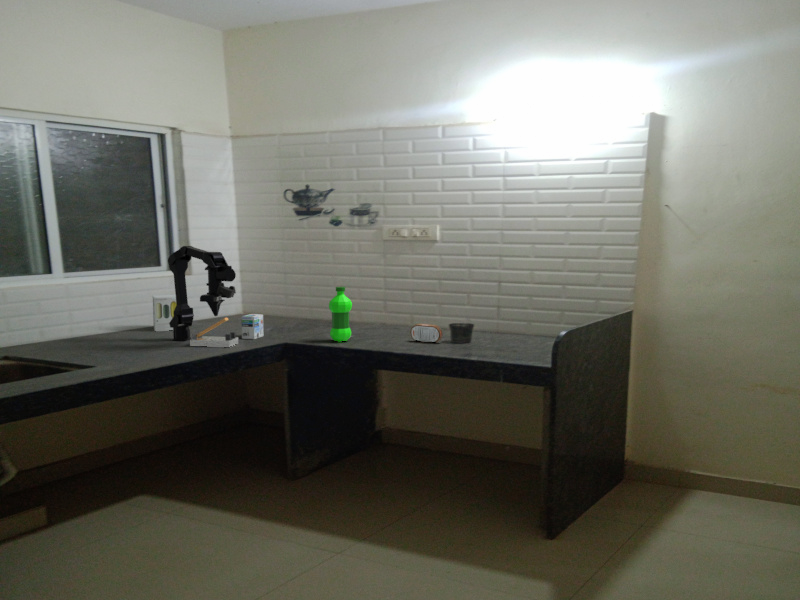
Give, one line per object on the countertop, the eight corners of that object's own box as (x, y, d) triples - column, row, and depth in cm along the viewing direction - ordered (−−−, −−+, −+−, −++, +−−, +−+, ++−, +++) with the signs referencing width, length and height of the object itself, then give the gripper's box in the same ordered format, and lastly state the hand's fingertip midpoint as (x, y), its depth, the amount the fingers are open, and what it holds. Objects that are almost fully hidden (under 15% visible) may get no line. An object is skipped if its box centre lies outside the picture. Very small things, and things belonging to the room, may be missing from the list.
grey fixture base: (190, 346, 277) (189, 334, 276) (200, 342, 286) (199, 330, 286) (229, 347, 274) (229, 335, 274) (238, 343, 284) (238, 331, 284)
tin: (442, 343, 287) (442, 324, 286) (440, 344, 284) (440, 325, 284) (412, 340, 294) (412, 322, 293) (409, 341, 291) (409, 323, 290)
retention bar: (196, 338, 279) (194, 335, 279) (199, 336, 283) (198, 334, 283) (225, 320, 277) (224, 318, 277) (228, 319, 280) (227, 317, 280)
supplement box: (154, 331, 319) (153, 297, 317) (153, 328, 331) (152, 295, 329) (182, 330, 324) (181, 296, 322) (180, 326, 336) (179, 294, 334)
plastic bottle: (356, 341, 292) (356, 287, 289) (339, 344, 284) (339, 288, 281) (341, 338, 298) (341, 285, 296) (324, 341, 291) (324, 287, 288)
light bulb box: (254, 339, 296) (254, 316, 295) (241, 339, 297) (240, 316, 296) (264, 336, 306) (263, 313, 305) (251, 335, 308) (250, 313, 307)
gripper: (223, 282, 267) (224, 319, 269) (240, 279, 285) (241, 313, 287) (198, 282, 268) (199, 318, 270) (217, 279, 287) (218, 313, 288)
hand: (215, 316), depth 279 cm, fingers closed
